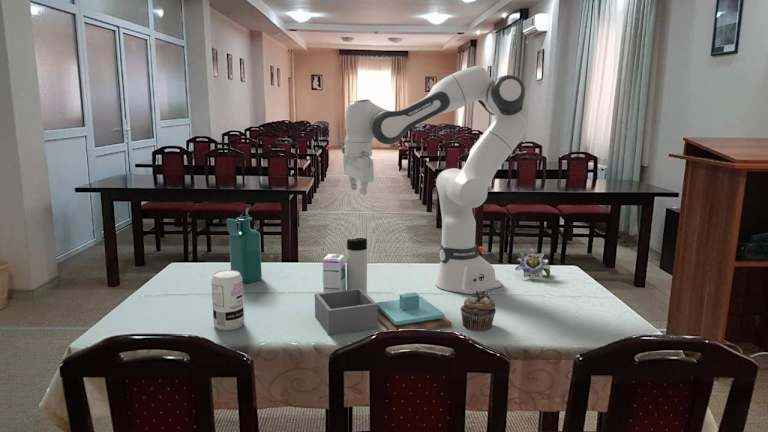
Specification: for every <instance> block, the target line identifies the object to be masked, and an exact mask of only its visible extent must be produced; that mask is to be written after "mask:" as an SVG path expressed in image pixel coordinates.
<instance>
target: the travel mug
mask: <svg viewBox="0 0 768 432" xmlns="http://www.w3.org/2000/svg"><path fill="white" fill-rule="evenodd" d="M367 245H368V238H364V237H356V238H353V239H352V238H347V240H346V290H348V289H357V288H361V289H362V290H363V291H364V292H365V293H366V294H367V295H368V290H367V289H368V288H367V287H368V283H367V282H368V280H367V279H368V246H367Z"/></svg>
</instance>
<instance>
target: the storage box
mask: <svg viewBox="0 0 768 432" xmlns="http://www.w3.org/2000/svg"><path fill="white" fill-rule="evenodd" d="M377 315H378V304H377V302H376V301H375V300H374V299H373V298H372V297H370V295H369V294H368V293H367V294H366V293H365V292H364V291H363V290H362V289H361V288H357V289H348V290H347V289H346V290H340V291H332V292H324V293H323V292H316V293H314V317H315V319H316V320H317V322H318V323H319V324H320V325H321V327H322V328H323V330H324V331H325V332H326V333H327V335H328V336H333V335H340V334H348V333H353V332H360V331H366V329H368V330H373V329H372V328H375V329H378V320H377Z"/></svg>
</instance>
